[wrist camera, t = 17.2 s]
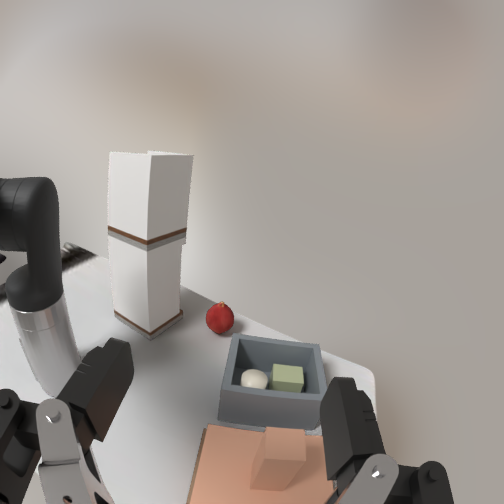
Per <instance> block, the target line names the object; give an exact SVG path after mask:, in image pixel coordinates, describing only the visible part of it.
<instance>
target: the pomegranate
mask: <svg viewBox="0 0 504 504" xmlns="http://www.w3.org/2000/svg"><path fill="white" fill-rule="evenodd" d="M206 323H207V325H208V327H209V328H210V329H211V330H212V331H214V332H216V333H217V334H221V333H223V332H225V331H228V330H229V329H230V328H231V327H232V326H233V323H234V315H233V312H232V310H231V309H230V308H229V307H228V306H227V305H226V304H224V302H220V303H218V304H215V305H213V306H212V307H211V308H210V309H209V310H208V312H207V314H206Z"/></svg>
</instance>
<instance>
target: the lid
mask: <svg viewBox="0 0 504 504" xmlns="http://www.w3.org/2000/svg"><path fill="white" fill-rule="evenodd" d="M332 492H333V481H332V480H330V481H327V473H326V463H325V454H324V445H323V436H311V435H305V429H289V428H276V427H266V429H265V432H258V431H249V430H242V429H235V428H229V427H223V426H217V425H212V424H208V427H207V431H206V435H205V439H204V444H203V448H202V452H201V457H200V461H199V465H198V470H197V474H196V478H195V482H194V487H193V491H192V495H191V500H190V504H324V502H325V501H326V500H327V499H328V497H329V496H330V495H331V493H332Z"/></svg>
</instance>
